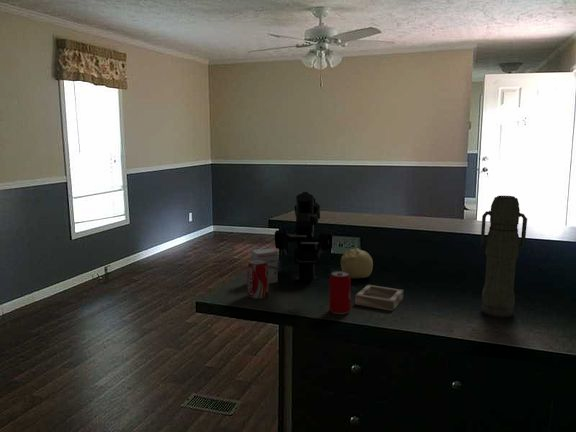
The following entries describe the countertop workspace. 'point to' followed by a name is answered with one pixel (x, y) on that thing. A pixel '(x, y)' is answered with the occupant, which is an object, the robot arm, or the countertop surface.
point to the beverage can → (340, 292)
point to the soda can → (257, 278)
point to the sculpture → (357, 263)
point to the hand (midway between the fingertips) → (302, 255)
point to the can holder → (379, 297)
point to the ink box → (268, 261)
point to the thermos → (501, 255)
